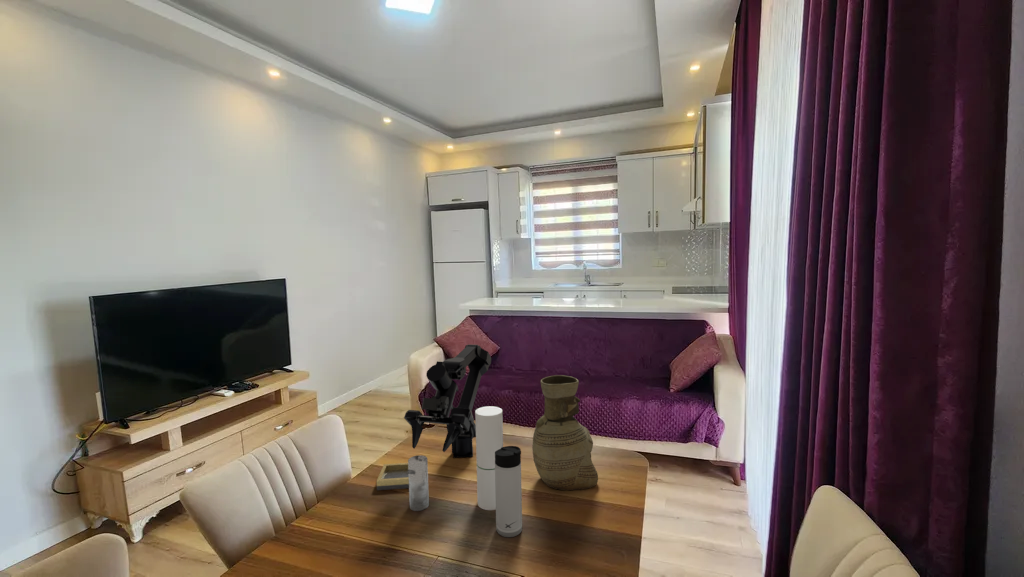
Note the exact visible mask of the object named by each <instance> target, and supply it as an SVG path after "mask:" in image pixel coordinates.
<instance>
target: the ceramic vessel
mask: <svg viewBox="0 0 1024 577" xmlns="http://www.w3.org/2000/svg"><path fill="white" fill-rule="evenodd" d="M579 382H580V381H579V379H577V377H573V376H569V375H561V374H560V375H557V374H555V375H550V376H545V377H543V378H542V379H540V386H541V387H540V388H541V391H542V392H541V393H542V394H543V397H544V413H543V415H541V417H539V419H538V420H537V421H536V423H535V428H534V431H533V435H532V436H533V437H532V444H531V445H532V450H531V451H532V457H533V461H534V465H535V469H536V472H537V473H538V475H539V477H540V478H541V480H542V481H543V483H544V484H545V485H546V486H547V487H549V488H552V489H555V490H559V491H561V490H562V491H576V490H586V489H590V488H592V487H594V486H596V485H597V484H598V482H599V474H598V472H597V469H596V466H595V464H594V463H593V460H592V451H593V449H594V441H593V438H592V436H591V433H590V430H589V429H588V428H587V427H585V426H584V425H582V424H581V423H580V422H579V421H578V420H577V419H576V418H575V417H574V416H576V415H579V413H580V410H579V409H580V408H579V407H580V405H579V402H581V399H580V398H578V397H577V396H576V394H577V391H578V388H579V385H580V384H579Z"/></svg>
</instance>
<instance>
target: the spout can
mask: <svg viewBox="0 0 1024 577" xmlns="http://www.w3.org/2000/svg"><path fill="white" fill-rule="evenodd" d="M428 462H429V461H428V457H427V456H426V455H421V454H420V455H419V454H418V455H414V456H412V457H410V458H408V460H407V463H408V471H407V473H408V474H409V488H408V496H409V509H410V510H412V511H414V512H419V511H425V509H428V507H429V505H430V498H429V497H430V496H429V469H428V468H429V465H428Z"/></svg>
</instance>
